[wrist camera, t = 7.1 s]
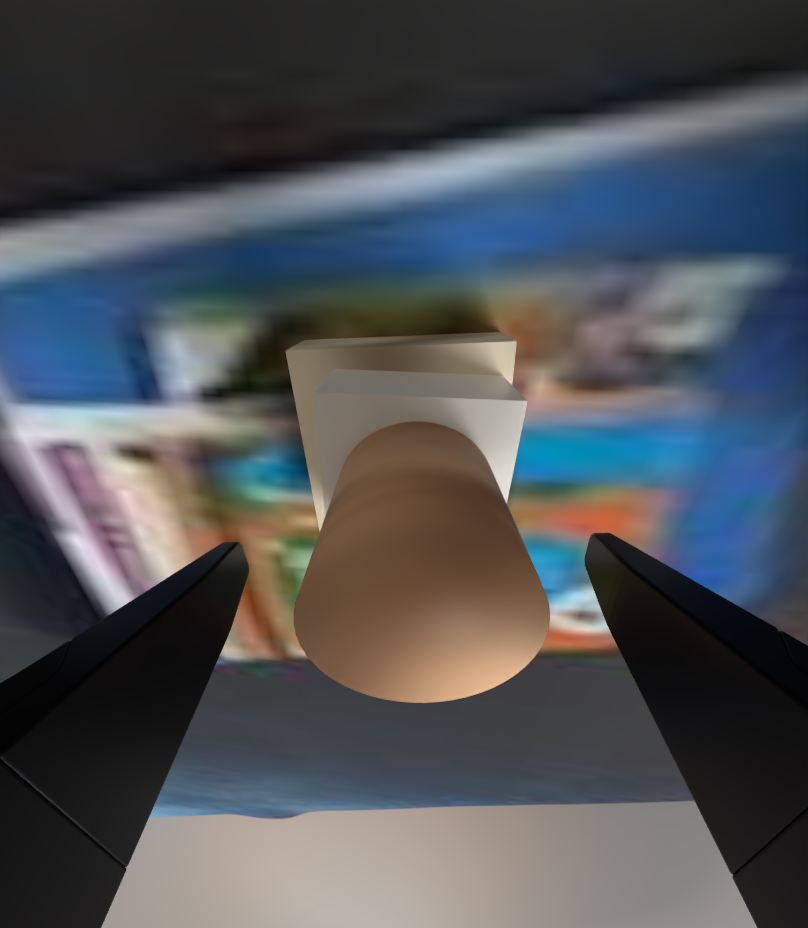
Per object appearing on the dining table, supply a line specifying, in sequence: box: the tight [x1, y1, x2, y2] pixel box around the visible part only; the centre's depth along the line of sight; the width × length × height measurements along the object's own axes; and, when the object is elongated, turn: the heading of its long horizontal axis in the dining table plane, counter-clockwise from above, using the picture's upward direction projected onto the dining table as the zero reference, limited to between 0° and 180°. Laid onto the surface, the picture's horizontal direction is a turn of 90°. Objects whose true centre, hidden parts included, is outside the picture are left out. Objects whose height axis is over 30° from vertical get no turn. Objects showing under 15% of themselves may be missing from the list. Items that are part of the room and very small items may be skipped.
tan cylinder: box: [294, 421, 550, 703], centre depth 9 cm, size 5×5×5 cm
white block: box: [315, 369, 528, 516], centre depth 13 cm, size 6×6×3 cm
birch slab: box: [285, 332, 517, 530], centre depth 15 cm, size 8×8×3 cm
